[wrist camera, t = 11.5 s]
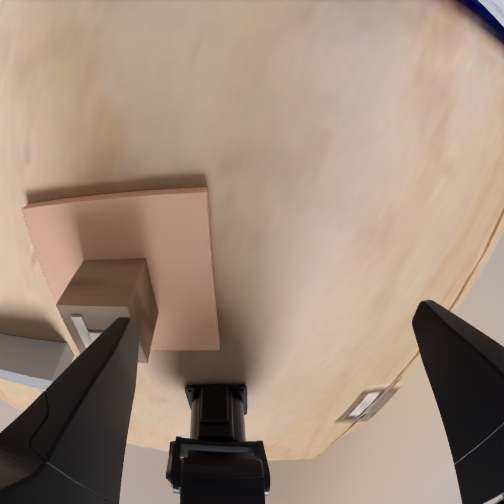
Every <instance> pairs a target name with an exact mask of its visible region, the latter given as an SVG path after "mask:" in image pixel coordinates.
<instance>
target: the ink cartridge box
mask: <svg viewBox="0 0 504 504" xmlns="http://www.w3.org/2000/svg"><path fill="white" fill-rule="evenodd" d="M478 1H479V2H480V3H481V4H482V5H483V6H484V7H485V8H486V9H487V10H488V11H489V12H490V13H491V14H492V15H493V16H494V17H495V18H496V19H497V20H498V21H499V22H500V23H501V25H502V26H503V27H504V0H478Z"/></svg>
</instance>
